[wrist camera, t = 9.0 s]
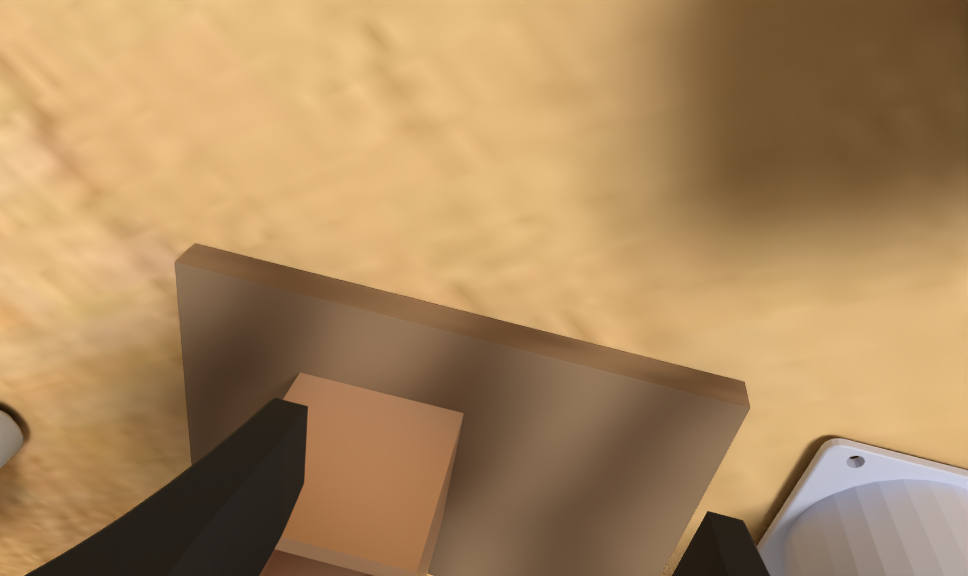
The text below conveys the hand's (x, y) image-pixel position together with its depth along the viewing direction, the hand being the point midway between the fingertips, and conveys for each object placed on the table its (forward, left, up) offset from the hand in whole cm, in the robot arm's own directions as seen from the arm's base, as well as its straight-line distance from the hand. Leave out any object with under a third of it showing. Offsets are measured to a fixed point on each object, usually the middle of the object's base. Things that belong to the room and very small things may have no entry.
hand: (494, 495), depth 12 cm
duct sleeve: (+4, +9, -8) cm, 13 cm away
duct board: (+2, +9, -9) cm, 13 cm away
